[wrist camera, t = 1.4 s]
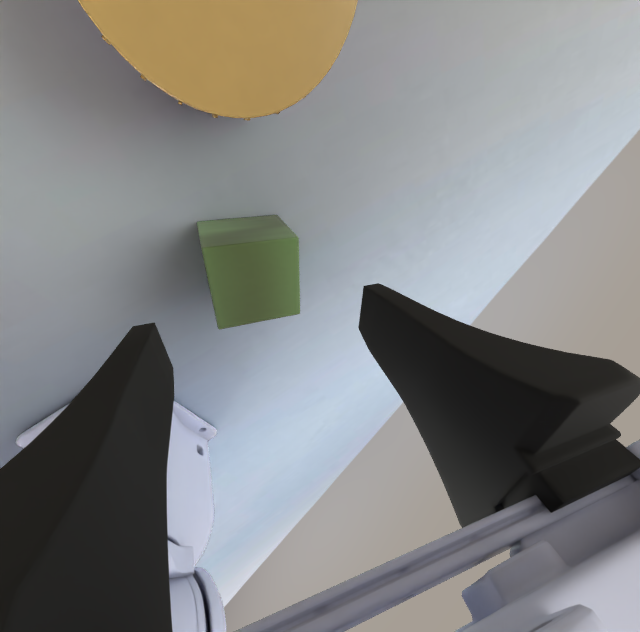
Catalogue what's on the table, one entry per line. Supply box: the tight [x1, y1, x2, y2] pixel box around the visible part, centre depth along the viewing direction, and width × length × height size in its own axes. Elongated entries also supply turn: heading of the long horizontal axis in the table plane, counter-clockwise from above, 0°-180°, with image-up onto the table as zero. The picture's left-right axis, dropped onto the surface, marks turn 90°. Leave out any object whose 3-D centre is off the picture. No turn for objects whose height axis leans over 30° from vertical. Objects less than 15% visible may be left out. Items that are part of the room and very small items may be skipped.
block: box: [197, 215, 300, 329], centre depth 16 cm, size 4×4×4 cm
